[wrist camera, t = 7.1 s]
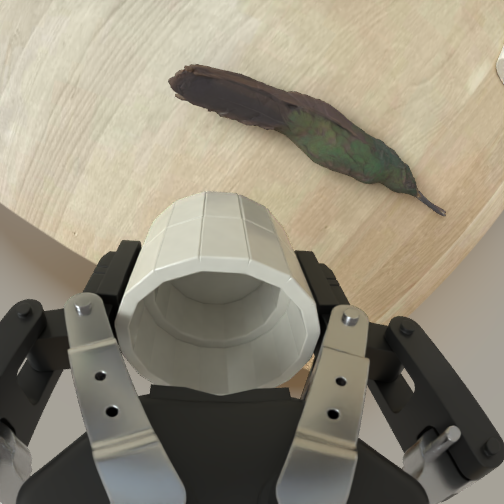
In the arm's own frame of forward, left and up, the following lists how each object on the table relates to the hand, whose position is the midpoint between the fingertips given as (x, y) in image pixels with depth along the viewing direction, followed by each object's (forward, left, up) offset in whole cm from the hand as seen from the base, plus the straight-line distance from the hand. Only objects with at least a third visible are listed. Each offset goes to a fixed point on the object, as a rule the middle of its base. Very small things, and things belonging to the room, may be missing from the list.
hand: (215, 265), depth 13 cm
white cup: (0, 0, -1) cm, 1 cm away
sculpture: (+10, +3, -16) cm, 19 cm away
